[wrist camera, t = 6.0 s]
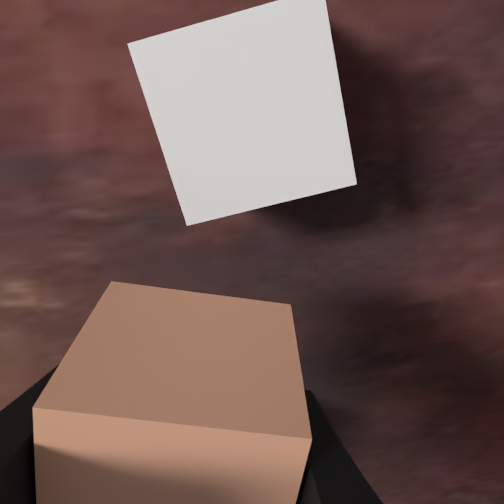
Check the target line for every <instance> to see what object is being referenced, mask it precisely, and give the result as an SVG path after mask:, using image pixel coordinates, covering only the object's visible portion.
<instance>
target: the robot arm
mask: <svg viewBox="0 0 504 504" xmlns="http://www.w3.org/2000/svg"><path fill="white" fill-rule="evenodd" d="M58 366H59V365H58ZM58 366H56V367H55V368H54V369H53V370H51V371H50V372H49V373H48V374H46V375H45V376H44V377H43V378H42V379H40V380H39V381H38V382H37V383H35V384H34V385H33V386H32V387H30V388H29V389H28V390H27V391H25V392H24V393H23V394H22V395H20V396H19V397H18V398H17V399H15V400H14V401H13V402H11V403H10V404H9V405H8V406H6V407H5V408H4V409H2V410H1V411H0V504H36V481H35V457H34V433H33V409H32V407H33V406H34V404H35V403H36V401H37V399H38V398H39V396H40V395H41V393H42V391H43V390H44V388H45V387H46V385H47V383H48V382H49V380H50V379H51V377H52V375H53V374H54V372H55V371H56V369H57V367H58ZM304 392H305V398H306V404H307V410H308V417H309V423H310V429H311V435H312V442H311V446H310V449H309V453H308V457H307V461H306V465H305V469H304V473H303V477H302V481H301V484H300V488H299V492H298V496H297V500H296V504H383V503H382V501H381V500H380V499H379V497H378V496H377V494H376V493H375V492H374V490H373V489H372V488H371V486H370V485H369V483H368V482H367V481H366V479H365V478H364V476H363V475H362V473H361V472H360V470H359V469H358V467H357V466H356V464H355V463H354V461H353V460H352V458H351V457H350V455H349V454H348V452H347V451H346V449H345V447H344V446H343V444H342V443H341V441H340V439H339V438H338V436H337V435H336V433H335V431H334V429H333V428H332V426H331V424H330V423H329V421H328V419H327V417H326V416H325V414H324V412H323V410H322V409H321V407H320V405H319V403H318V401H317V399H316V398H315V396H314V394H313V393H312V392H311V390H304Z"/></svg>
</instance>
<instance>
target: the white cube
mask: <svg viewBox="0 0 504 504" xmlns="http://www.w3.org/2000/svg"><path fill="white" fill-rule="evenodd" d="M128 47H129V50H130V53H131V56H132V59H133V62H134V66H135V69H136V72H137V75H138V78H139V81H140V84H141V87H142V90H143V93H144V96H145V99H146V102H147V105H148V108H149V111H150V114H151V117H152V120H153V124H154V127H155V130H156V133H157V136H158V139H159V142H160V145H161V148H162V151H163V154H164V157H165V160H166V163H167V166H168V169H169V172H170V175H171V178H172V182H173V185H174V188H175V191H176V194H177V197H178V200H179V203H180V206H181V209H182V212H183V215H184V218H185V221H186V224H187V226H188V225H192V224H196V223H200V222H204V221H209V220H213V219H217V218H221V217H225V216H229V215H233V214H237V213H241V212H245V211H250V210H254V209H258V208H262V207H266V206H270V205H274V204H278V203H282V202H286V201H291V200H295V199H299V198H303V197H307V196H311V195H315V194H319V193H323V192H327V191H331V190H336V189H340V188H344V187H348V186H352V185H356V184H357V182H356V176H355V170H354V164H353V158H352V153H351V147H350V141H349V135H348V129H347V123H346V118H345V112H344V106H343V100H342V94H341V88H340V83H339V77H338V71H337V65H336V59H335V53H334V48H333V42H332V36H331V30H330V24H329V18H328V13H327V7H326V1H325V0H278V1H274V2H271V3H267V4H264V5H260V6H257V7H253V8H250V9H247V10H243V11H240V12H236V13H233V14H229V15H226V16H222V17H219V18H215V19H212V20H208V21H205V22H201V23H198V24H194V25H191V26H187V27H184V28H180V29H177V30H173V31H170V32H166V33H163V34H159V35H156V36H152V37H149V38H145V39H142V40H138V41H135V42H132V43H128Z"/></svg>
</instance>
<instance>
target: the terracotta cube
mask: <svg viewBox="0 0 504 504" xmlns="http://www.w3.org/2000/svg"><path fill="white" fill-rule="evenodd" d="M32 409H33V433H34V457H35V481H36V504H296V500H297V496H298V492H299V488H300V484H301V481H302V477H303V473H304V469H305V465H306V461H307V457H308V453H309V449H310V446H311V442H312V435H311V429H310V423H309V417H308V410H307V404H306V398H305V392H304V385H303V379H302V373H301V366H300V360H299V354H298V348H297V341H296V335H295V329H294V323H293V316H292V310H291V305H289V304H282V303H274V302H266V301H259V300H251V299H243V298H236V297H228V296H220V295H213V294H205V293H197V292H189V291H182V290H174V289H166V288H159V287H151V286H143V285H136V284H128V283H120V282H113V281H111V283H110V284H109V286H108V288H107V289H106V291H105V292H104V294H103V296H102V297H101V299H100V300H99V302H98V304H97V305H96V307H95V308H94V310H93V312H92V313H91V315H90V316H89V318H88V320H87V321H86V323H85V324H84V326H83V328H82V329H81V331H80V332H79V334H78V336H77V337H76V339H75V340H74V342H73V344H72V345H71V347H70V348H69V350H68V352H67V353H66V355H65V356H64V358H63V359H62V361H61V363H60V364H59V366H58V367H57V369H56V371H55V372H54V374H53V375H52V377H51V379H50V380H49V382H48V383H47V385H46V387H45V388H44V390H43V391H42V393H41V395H40V396H39V398H38V399H37V401H36V403H35V404H34V406H33V407H32Z"/></svg>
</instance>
